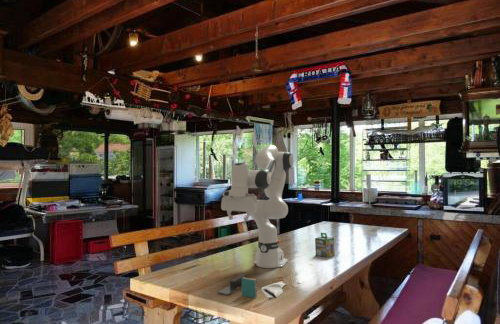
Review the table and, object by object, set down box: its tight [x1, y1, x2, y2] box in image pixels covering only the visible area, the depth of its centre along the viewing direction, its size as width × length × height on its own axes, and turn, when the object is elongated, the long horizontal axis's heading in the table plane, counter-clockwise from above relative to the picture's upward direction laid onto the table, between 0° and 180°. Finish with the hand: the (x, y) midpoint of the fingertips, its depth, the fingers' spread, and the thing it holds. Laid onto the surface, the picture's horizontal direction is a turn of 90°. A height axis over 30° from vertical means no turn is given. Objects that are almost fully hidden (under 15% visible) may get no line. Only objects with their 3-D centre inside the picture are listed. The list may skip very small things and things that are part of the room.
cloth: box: [261, 280, 287, 300], centre depth 169 cm, size 26×14×2 cm, turn 150°
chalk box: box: [314, 232, 336, 258], centre depth 232 cm, size 9×9×15 cm
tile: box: [241, 277, 258, 299], centre depth 162 cm, size 2×7×8 cm, turn 60°
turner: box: [217, 273, 248, 296], centre depth 173 cm, size 20×6×4 cm, turn 150°
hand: (238, 220), depth 181 cm, fingers open, 8 cm apart
